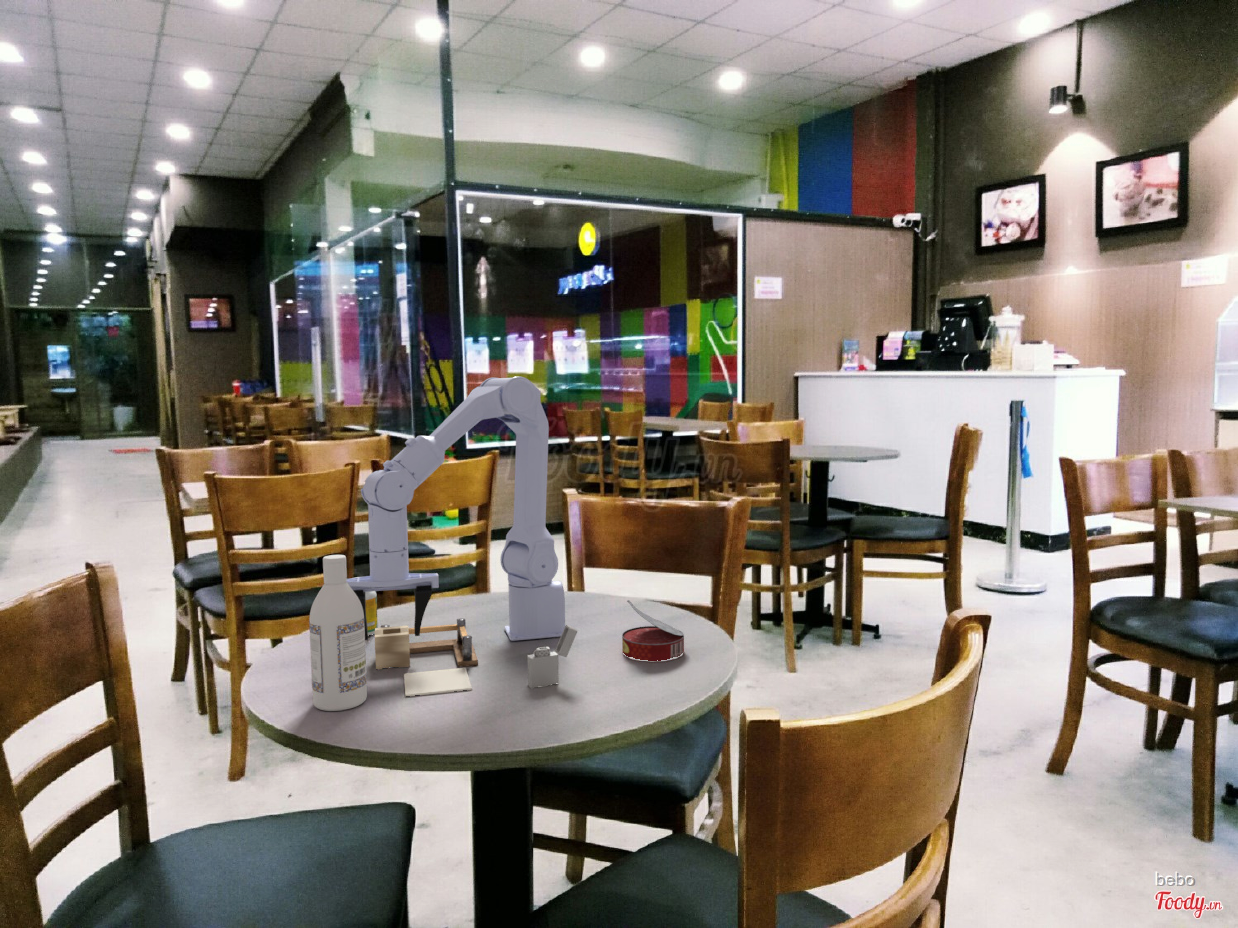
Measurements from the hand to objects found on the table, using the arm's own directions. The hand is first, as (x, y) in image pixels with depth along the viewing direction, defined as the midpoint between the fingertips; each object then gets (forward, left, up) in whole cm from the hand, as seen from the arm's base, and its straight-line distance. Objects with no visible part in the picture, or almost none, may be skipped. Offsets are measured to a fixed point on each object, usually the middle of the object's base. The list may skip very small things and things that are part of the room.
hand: (391, 636), depth 128 cm
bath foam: (+7, +15, -4) cm, 17 cm away
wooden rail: (-5, -1, -4) cm, 7 cm away
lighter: (-22, +16, -4) cm, 28 cm away
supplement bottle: (+5, -18, -4) cm, 19 cm away
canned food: (-40, +7, -5) cm, 41 cm away
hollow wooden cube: (0, 0, -4) cm, 4 cm away
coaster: (-6, +11, -4) cm, 13 cm away
